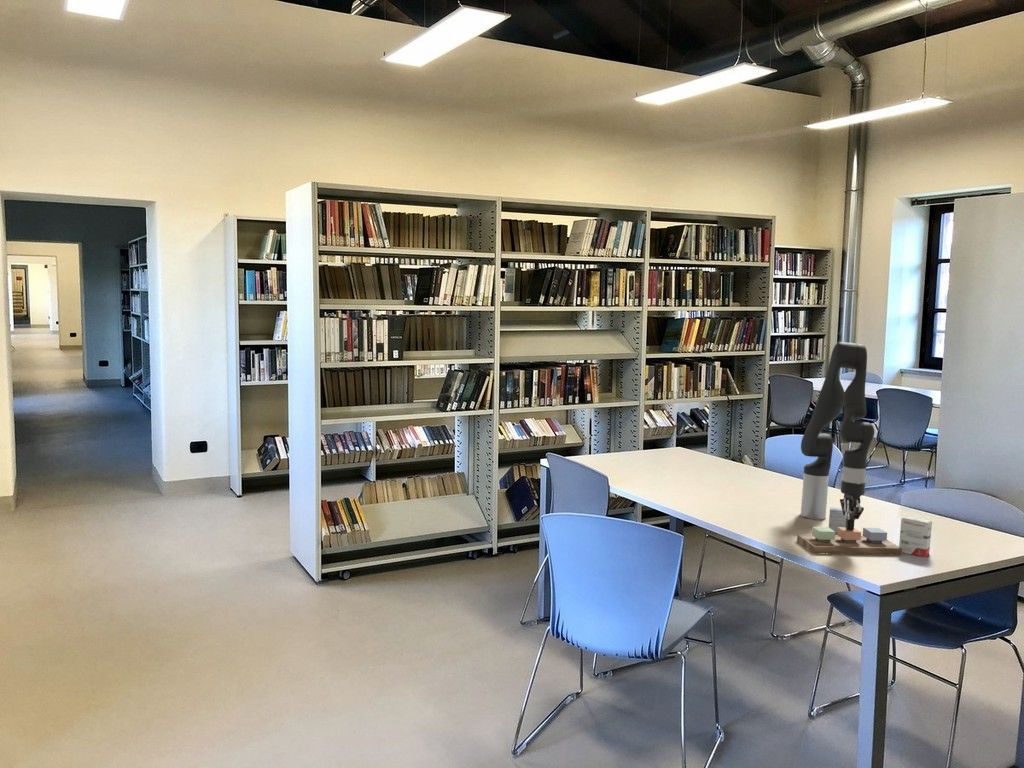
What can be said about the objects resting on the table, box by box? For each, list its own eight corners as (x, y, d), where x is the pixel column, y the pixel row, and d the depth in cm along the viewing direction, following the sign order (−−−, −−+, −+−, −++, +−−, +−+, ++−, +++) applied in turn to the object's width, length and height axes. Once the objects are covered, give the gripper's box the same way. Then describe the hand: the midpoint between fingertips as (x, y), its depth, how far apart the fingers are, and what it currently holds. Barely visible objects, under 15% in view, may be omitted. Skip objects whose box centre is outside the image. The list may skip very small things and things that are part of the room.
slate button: (862, 535, 274) (863, 527, 273) (878, 535, 274) (878, 527, 274) (870, 540, 268) (871, 532, 268) (886, 540, 268) (887, 532, 268)
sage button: (811, 534, 273) (812, 526, 273) (827, 534, 273) (828, 526, 273) (818, 539, 267) (819, 531, 267) (834, 539, 268) (835, 531, 267)
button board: (796, 541, 277) (797, 529, 277) (880, 542, 279) (881, 531, 278) (813, 553, 263) (814, 541, 263) (901, 555, 265) (902, 543, 264)
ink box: (929, 554, 267) (932, 520, 266) (925, 557, 263) (928, 522, 262) (902, 548, 273) (905, 515, 272) (898, 551, 269) (901, 517, 268)
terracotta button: (837, 535, 273) (837, 527, 273) (852, 535, 274) (853, 527, 273) (844, 539, 268) (845, 531, 267) (860, 540, 268) (861, 532, 268)
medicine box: (851, 532, 291) (853, 509, 290) (851, 535, 287) (853, 512, 286) (828, 529, 294) (830, 506, 293) (828, 532, 290) (829, 509, 289)
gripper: (833, 475, 275) (830, 524, 277) (851, 484, 262) (847, 535, 264) (854, 475, 275) (851, 524, 277) (873, 484, 262) (869, 535, 264)
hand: (849, 529), depth 270 cm, fingers closed
